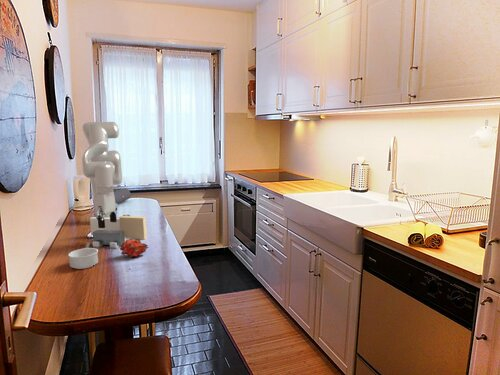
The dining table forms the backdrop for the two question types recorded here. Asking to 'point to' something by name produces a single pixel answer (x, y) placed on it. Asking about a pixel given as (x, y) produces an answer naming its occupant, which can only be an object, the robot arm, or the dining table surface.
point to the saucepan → (83, 257)
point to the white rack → (122, 228)
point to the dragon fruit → (133, 248)
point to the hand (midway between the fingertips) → (107, 224)
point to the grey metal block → (108, 237)
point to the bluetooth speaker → (121, 195)
